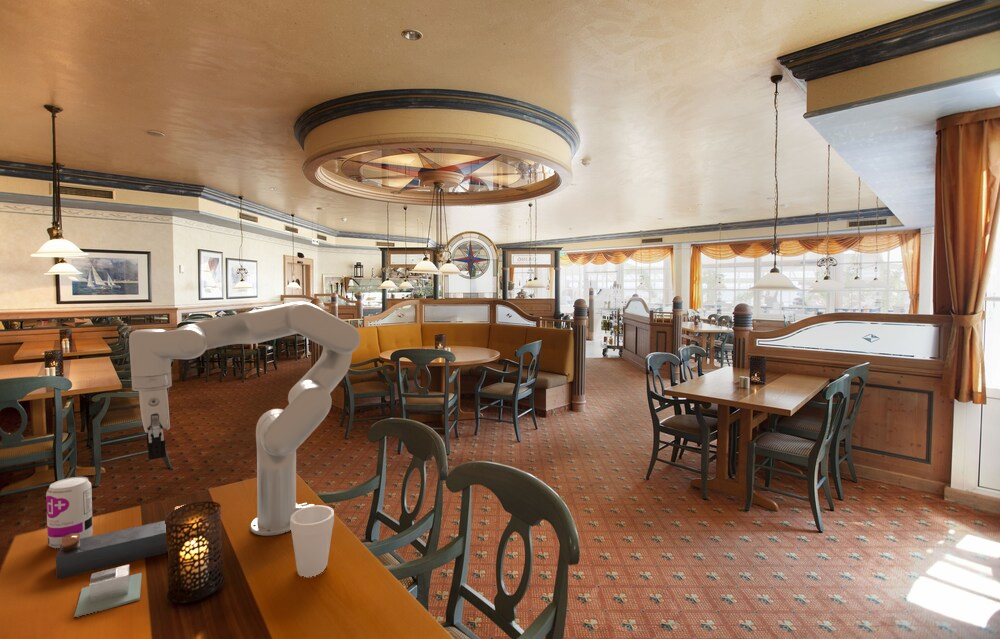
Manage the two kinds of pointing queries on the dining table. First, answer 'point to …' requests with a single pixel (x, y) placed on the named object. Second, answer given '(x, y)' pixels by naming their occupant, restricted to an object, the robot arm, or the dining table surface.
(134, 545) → the hand plane
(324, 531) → the foam cup
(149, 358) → the robot arm
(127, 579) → the lever cap
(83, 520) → the supplement can
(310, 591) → the dining table surface
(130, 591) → the mat
